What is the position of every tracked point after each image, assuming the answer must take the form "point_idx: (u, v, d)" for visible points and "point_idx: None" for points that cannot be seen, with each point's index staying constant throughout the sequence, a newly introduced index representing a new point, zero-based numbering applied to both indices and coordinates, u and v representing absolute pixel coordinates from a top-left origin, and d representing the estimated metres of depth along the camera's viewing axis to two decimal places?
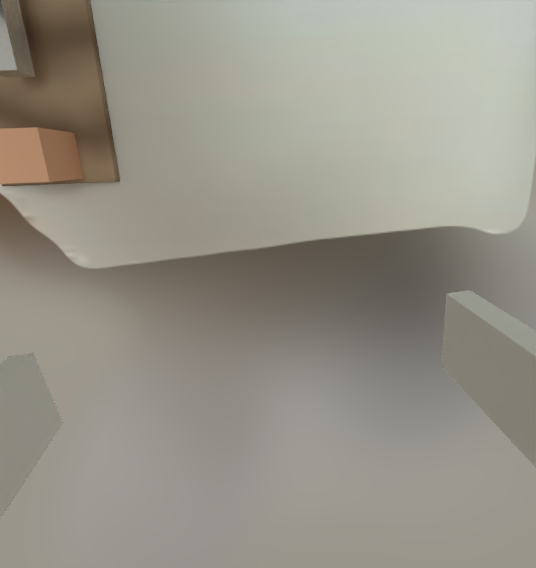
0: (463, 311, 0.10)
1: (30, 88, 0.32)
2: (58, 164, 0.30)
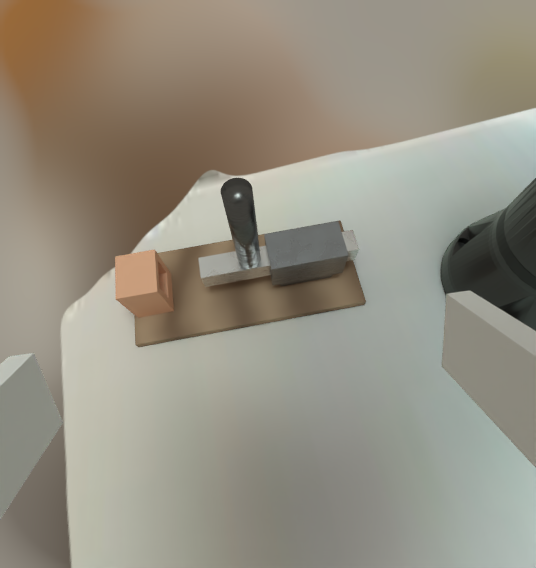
0: (463, 311, 0.10)
1: None
2: (136, 303, 0.37)
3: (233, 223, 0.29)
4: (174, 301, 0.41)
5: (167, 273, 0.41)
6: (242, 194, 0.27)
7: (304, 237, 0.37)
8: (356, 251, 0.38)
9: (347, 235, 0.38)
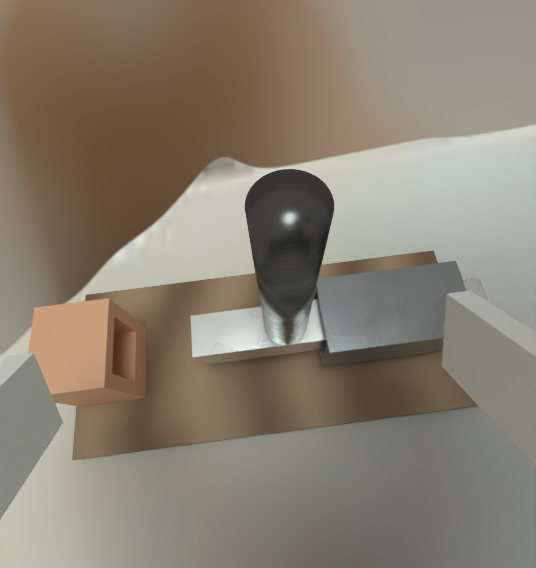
0: (464, 311, 0.10)
1: None
2: (70, 398, 0.20)
3: (269, 281, 0.12)
4: (147, 379, 0.24)
5: (137, 331, 0.23)
6: (306, 217, 0.09)
7: (392, 290, 0.20)
8: None
9: (470, 288, 0.20)
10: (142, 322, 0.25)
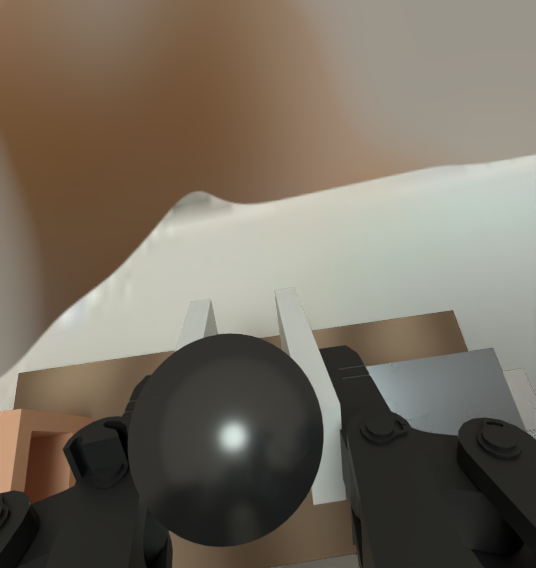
0: (277, 305, 0.12)
1: None
2: None
3: None
4: None
5: (76, 431, 0.18)
6: (261, 465, 0.04)
7: (410, 392, 0.14)
8: None
9: (513, 383, 0.15)
10: (87, 410, 0.20)
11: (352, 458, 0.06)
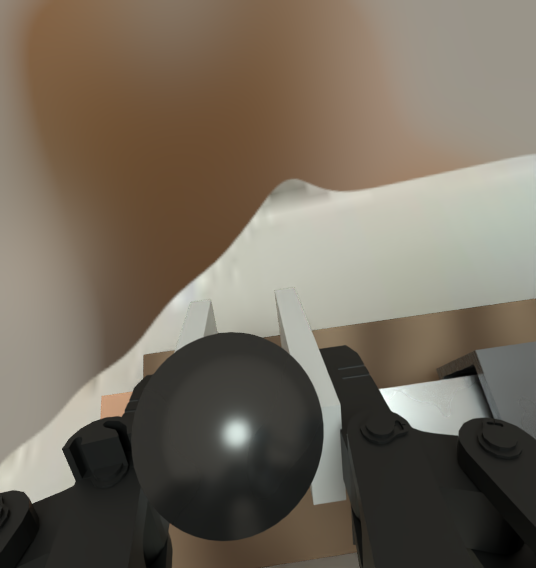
0: (277, 305, 0.12)
1: None
2: None
3: None
4: None
5: None
6: (262, 461, 0.04)
7: None
8: None
9: None
10: None
11: (352, 458, 0.06)
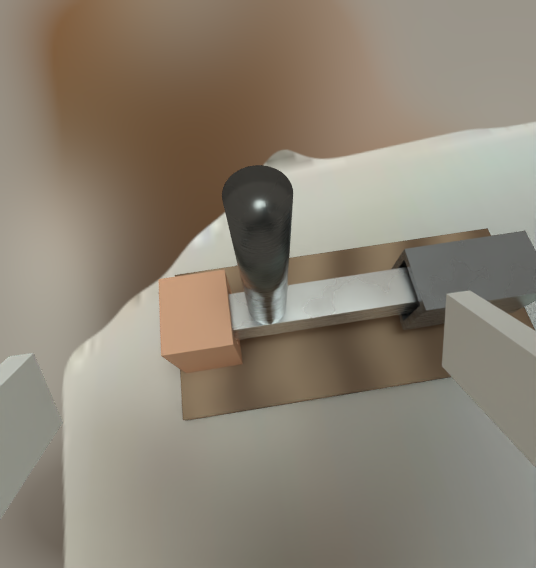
0: (464, 311, 0.10)
1: None
2: (192, 358, 0.22)
3: (246, 260, 0.14)
4: (242, 348, 0.26)
5: None
6: (271, 203, 0.12)
7: (473, 256, 0.22)
8: None
9: None
10: None
11: None
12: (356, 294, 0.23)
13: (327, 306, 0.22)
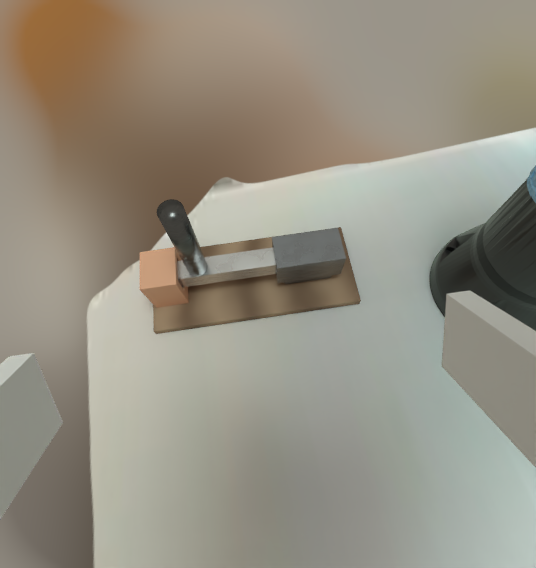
0: (464, 311, 0.10)
1: None
2: (157, 294, 0.42)
3: (171, 237, 0.34)
4: (189, 294, 0.46)
5: None
6: (174, 214, 0.32)
7: (307, 241, 0.42)
8: None
9: None
10: None
11: None
12: (245, 261, 0.42)
13: (229, 267, 0.42)
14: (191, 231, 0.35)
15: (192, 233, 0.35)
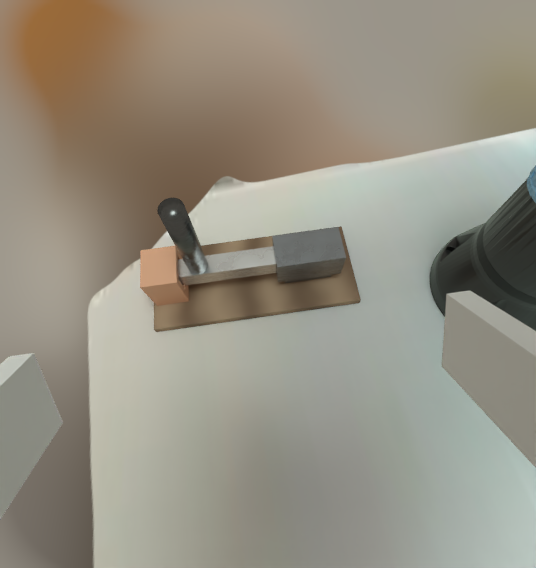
0: (463, 311, 0.10)
1: None
2: (157, 292, 0.42)
3: (171, 235, 0.34)
4: (189, 292, 0.46)
5: None
6: (175, 212, 0.32)
7: (307, 240, 0.42)
8: None
9: None
10: None
11: None
12: (245, 260, 0.42)
13: (229, 265, 0.42)
14: (192, 229, 0.35)
15: (193, 231, 0.35)
